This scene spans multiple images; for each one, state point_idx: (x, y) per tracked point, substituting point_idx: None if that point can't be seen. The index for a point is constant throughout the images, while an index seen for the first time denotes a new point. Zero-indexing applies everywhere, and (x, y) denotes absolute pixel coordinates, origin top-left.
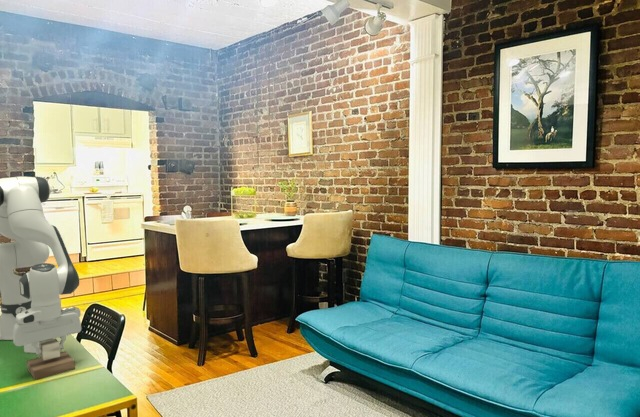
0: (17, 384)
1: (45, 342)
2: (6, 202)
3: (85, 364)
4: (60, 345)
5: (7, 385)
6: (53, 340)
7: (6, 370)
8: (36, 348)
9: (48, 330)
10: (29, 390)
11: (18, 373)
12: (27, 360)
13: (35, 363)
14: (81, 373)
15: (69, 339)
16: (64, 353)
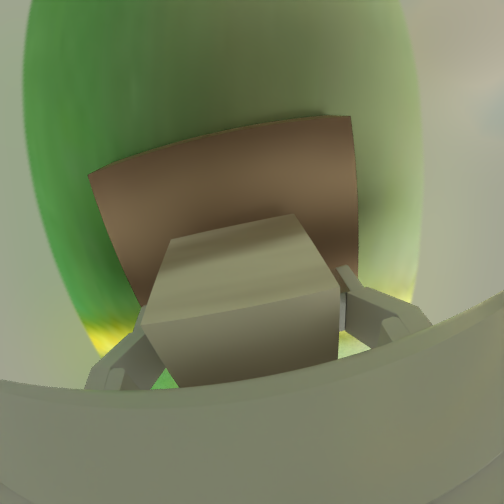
0: (118, 330)
1: (217, 366)
2: None
3: (386, 261)
4: (339, 325)
5: (85, 319)
6: (303, 344)
7: (28, 134)
8: (148, 377)
9: None
10: (176, 386)
11: (81, 207)
12: (90, 174)
13: (151, 264)
14: (344, 341)
15: None
16: (339, 169)
